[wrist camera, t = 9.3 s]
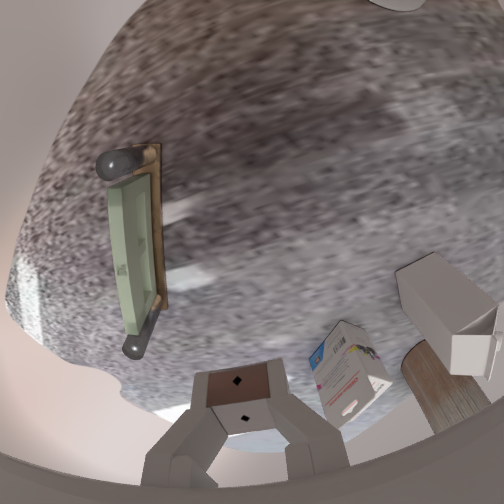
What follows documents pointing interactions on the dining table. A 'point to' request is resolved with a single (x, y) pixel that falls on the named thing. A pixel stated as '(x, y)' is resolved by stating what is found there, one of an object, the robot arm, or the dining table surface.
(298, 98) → the dining table surface
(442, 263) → the milk carton
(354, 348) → the ink box
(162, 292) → the drawknife
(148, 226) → the gate
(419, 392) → the planter
